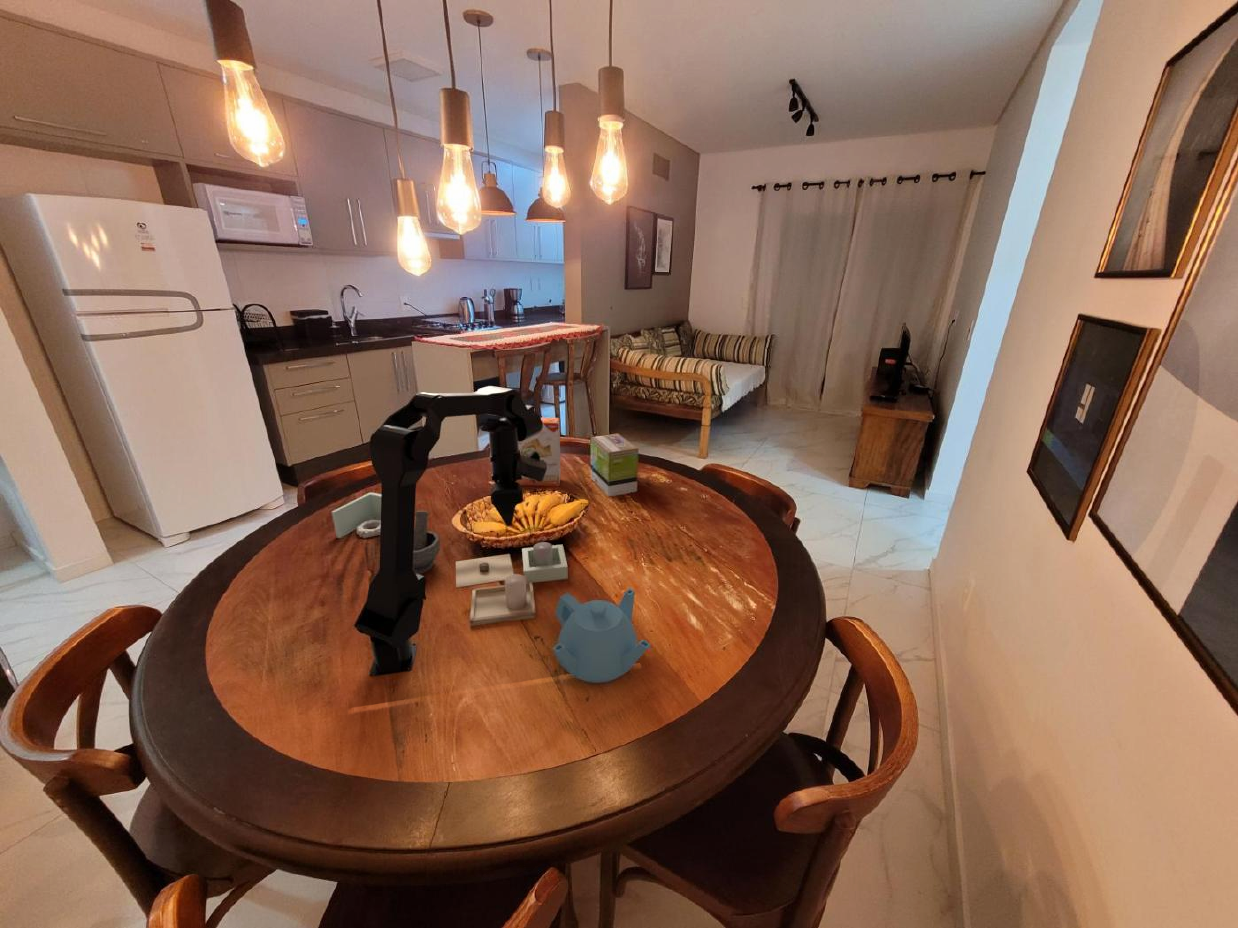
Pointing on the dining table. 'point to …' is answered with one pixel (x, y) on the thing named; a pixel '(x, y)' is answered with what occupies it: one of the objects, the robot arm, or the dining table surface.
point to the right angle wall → (359, 516)
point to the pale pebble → (515, 591)
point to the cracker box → (544, 452)
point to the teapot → (597, 638)
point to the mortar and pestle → (424, 544)
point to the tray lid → (483, 570)
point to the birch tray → (498, 606)
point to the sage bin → (545, 572)
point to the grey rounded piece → (543, 554)
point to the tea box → (614, 464)
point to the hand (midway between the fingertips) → (508, 515)
